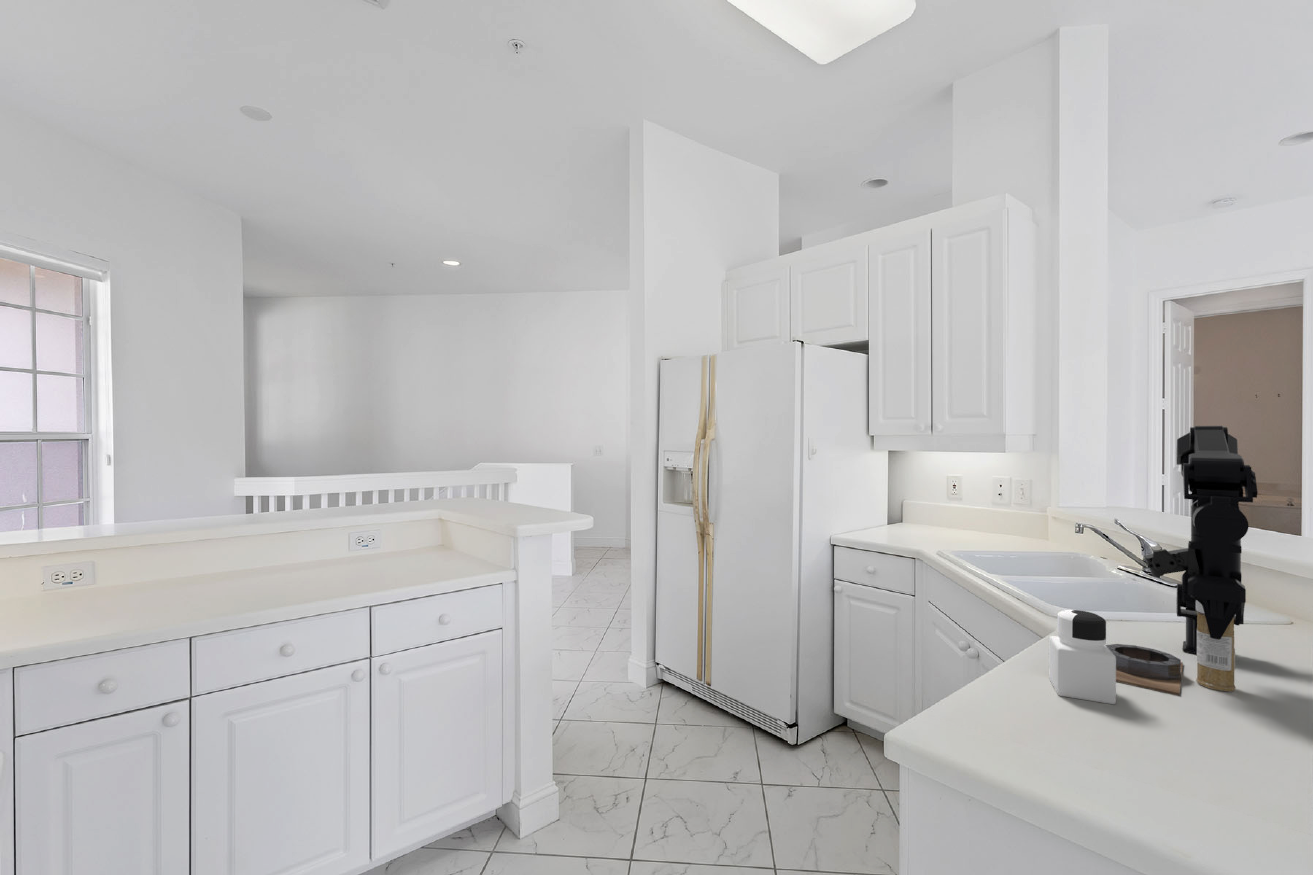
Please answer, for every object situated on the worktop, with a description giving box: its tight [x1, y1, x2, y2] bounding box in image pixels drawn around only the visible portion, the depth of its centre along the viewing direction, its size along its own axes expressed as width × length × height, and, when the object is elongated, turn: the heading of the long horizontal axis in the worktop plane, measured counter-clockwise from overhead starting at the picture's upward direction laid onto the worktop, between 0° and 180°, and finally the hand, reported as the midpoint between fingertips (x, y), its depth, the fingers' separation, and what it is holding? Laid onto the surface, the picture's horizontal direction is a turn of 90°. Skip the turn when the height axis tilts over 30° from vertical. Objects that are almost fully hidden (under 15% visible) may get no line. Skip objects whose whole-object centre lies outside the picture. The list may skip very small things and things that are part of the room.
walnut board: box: [1116, 661, 1184, 697], centre depth 99 cm, size 18×10×1 cm, turn 137°
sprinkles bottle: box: [1196, 600, 1237, 692], centre depth 93 cm, size 5×5×13 cm
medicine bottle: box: [1048, 609, 1117, 705], centre depth 90 cm, size 7×7×12 cm
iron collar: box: [1105, 643, 1182, 680], centre depth 99 cm, size 10×10×2 cm
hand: (1215, 635), depth 93 cm, fingers closed on sprinkles bottle, 4 cm apart
